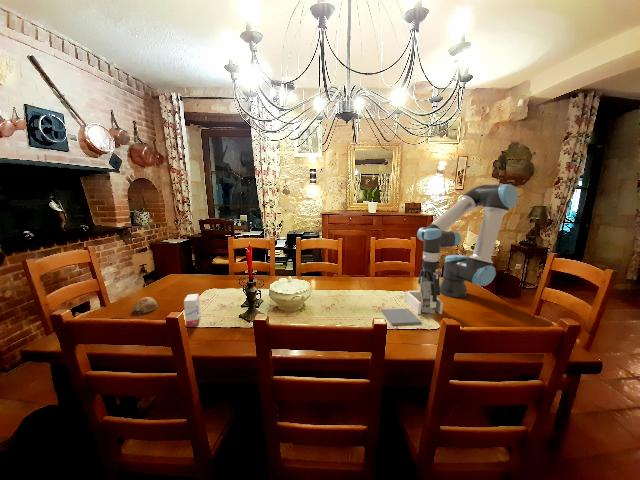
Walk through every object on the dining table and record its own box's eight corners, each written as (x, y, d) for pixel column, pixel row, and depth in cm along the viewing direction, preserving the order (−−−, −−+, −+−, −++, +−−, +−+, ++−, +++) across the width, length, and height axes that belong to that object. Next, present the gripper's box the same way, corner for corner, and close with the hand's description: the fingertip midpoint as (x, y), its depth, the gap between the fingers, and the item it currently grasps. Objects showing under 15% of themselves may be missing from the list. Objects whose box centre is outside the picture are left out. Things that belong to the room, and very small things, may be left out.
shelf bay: (426, 300, 146) (426, 290, 145) (441, 313, 130) (443, 302, 129) (404, 301, 145) (405, 291, 144) (417, 314, 129) (418, 303, 128)
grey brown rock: (158, 316, 132) (164, 300, 133) (136, 315, 123) (142, 298, 125) (148, 311, 137) (154, 296, 139) (127, 310, 129) (133, 293, 130)
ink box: (198, 325, 116) (196, 300, 114) (185, 327, 115) (183, 301, 113) (201, 316, 124) (199, 293, 122) (189, 318, 123) (187, 294, 121)
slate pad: (408, 310, 134) (408, 308, 134) (421, 323, 120) (421, 321, 120) (381, 311, 132) (381, 309, 132) (391, 325, 119) (391, 323, 118)
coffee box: (435, 313, 129) (438, 282, 126) (421, 312, 130) (424, 281, 127) (431, 305, 137) (434, 276, 134) (418, 304, 139) (420, 275, 136)
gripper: (413, 254, 140) (410, 294, 144) (435, 266, 117) (431, 313, 122) (426, 254, 140) (423, 293, 144) (451, 266, 118) (447, 312, 122)
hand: (427, 302), depth 133 cm, fingers closed on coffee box, 10 cm apart
